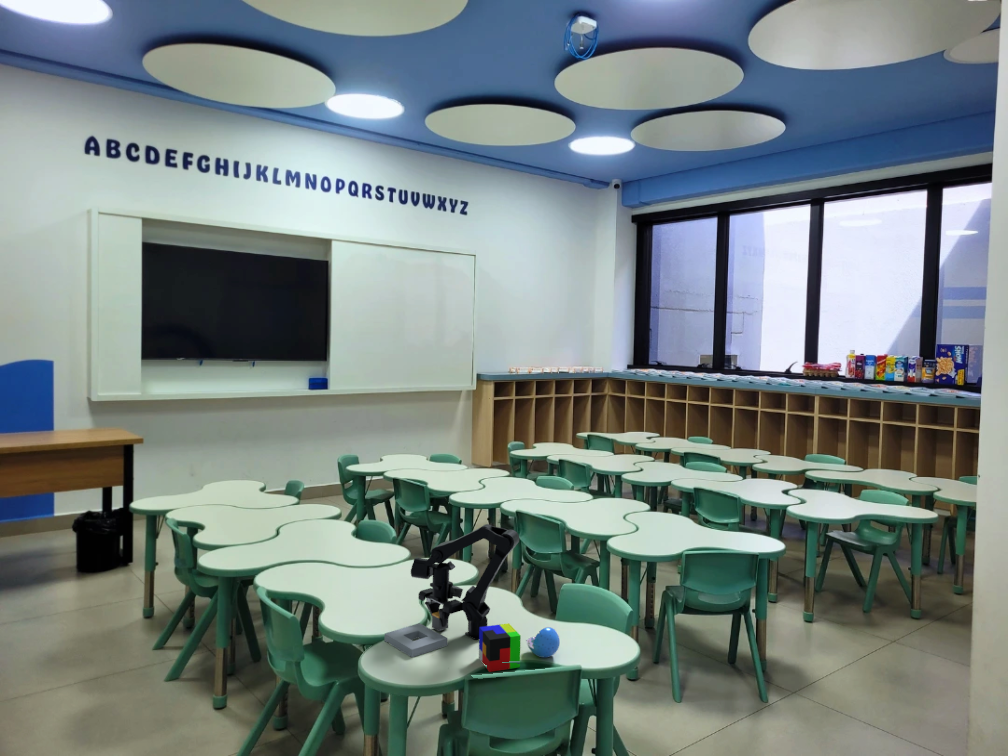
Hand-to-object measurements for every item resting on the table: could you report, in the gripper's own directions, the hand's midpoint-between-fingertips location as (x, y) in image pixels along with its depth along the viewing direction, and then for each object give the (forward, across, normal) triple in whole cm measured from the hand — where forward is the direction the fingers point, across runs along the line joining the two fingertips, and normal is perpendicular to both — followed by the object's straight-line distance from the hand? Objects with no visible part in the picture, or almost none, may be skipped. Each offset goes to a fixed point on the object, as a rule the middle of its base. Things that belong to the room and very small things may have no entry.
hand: (440, 624), depth 243 cm
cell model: (+2, -37, -13) cm, 39 cm away
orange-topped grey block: (+1, 0, 0) cm, 1 cm away
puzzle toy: (+2, -32, +1) cm, 32 cm away
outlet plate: (+2, -4, +13) cm, 14 cm away
